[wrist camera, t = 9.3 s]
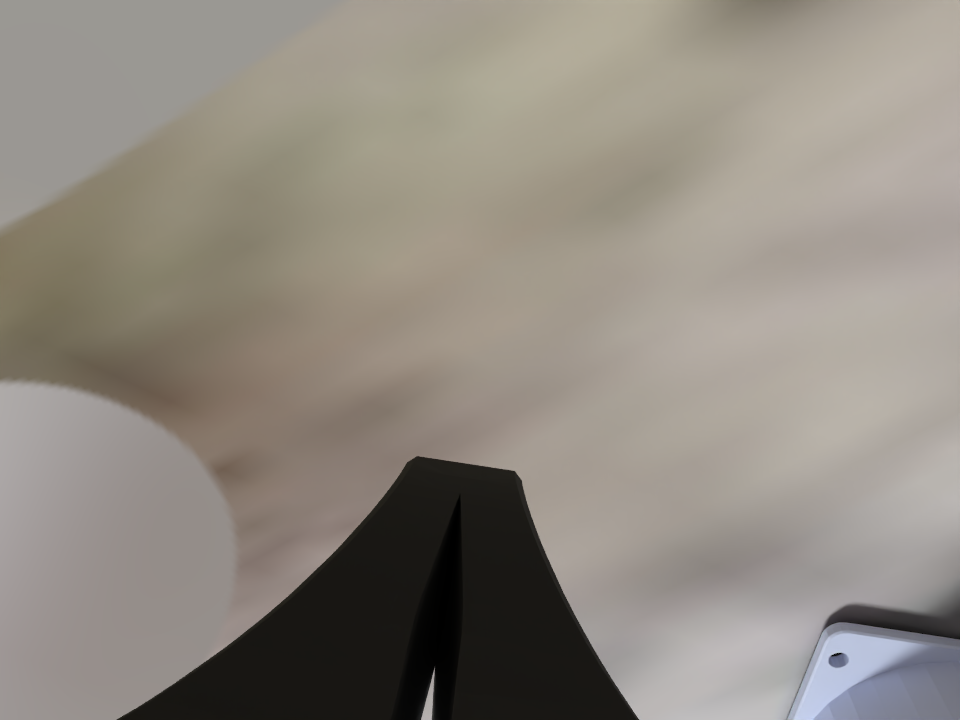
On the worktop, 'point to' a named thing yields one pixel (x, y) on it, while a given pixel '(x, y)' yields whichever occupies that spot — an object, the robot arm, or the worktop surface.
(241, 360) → the worktop surface
